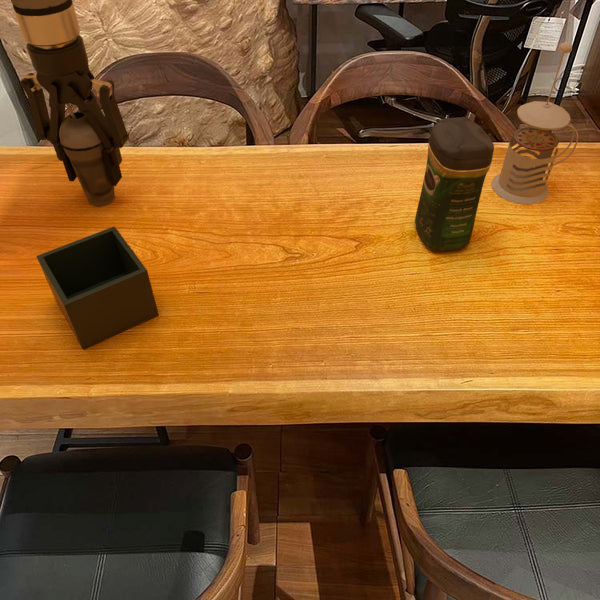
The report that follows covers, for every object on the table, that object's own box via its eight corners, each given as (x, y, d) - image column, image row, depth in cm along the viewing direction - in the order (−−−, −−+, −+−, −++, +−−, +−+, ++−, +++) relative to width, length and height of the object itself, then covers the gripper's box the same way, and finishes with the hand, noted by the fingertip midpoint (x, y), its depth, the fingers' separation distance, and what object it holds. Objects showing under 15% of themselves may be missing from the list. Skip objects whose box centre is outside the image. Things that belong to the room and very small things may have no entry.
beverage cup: (117, 211, 98) (86, 99, 83) (74, 211, 98) (35, 98, 83) (127, 186, 103) (99, 75, 88) (86, 185, 103) (51, 75, 88)
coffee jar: (476, 251, 90) (506, 145, 77) (426, 257, 89) (448, 150, 76) (454, 213, 97) (479, 109, 84) (408, 218, 96) (425, 113, 83)
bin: (55, 300, 83) (36, 255, 77) (127, 270, 88) (114, 225, 81) (82, 350, 77) (63, 305, 71) (159, 315, 81) (147, 270, 75)
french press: (484, 172, 105) (522, 29, 87) (548, 170, 106) (599, 28, 88) (500, 205, 98) (544, 57, 80) (568, 203, 99) (627, 56, 81)
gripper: (131, 32, 82) (160, 172, 99) (2, 22, 84) (51, 160, 101) (109, 55, 77) (143, 198, 93) (-27, 44, 79) (30, 185, 96)
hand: (95, 178), depth 97 cm, fingers closed on beverage cup, 7 cm apart
